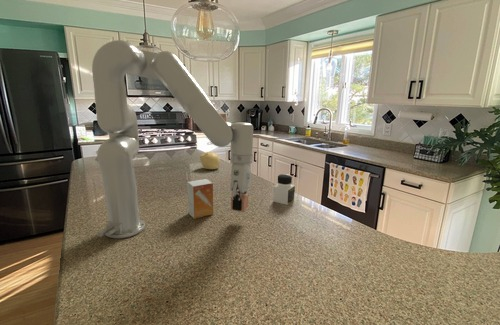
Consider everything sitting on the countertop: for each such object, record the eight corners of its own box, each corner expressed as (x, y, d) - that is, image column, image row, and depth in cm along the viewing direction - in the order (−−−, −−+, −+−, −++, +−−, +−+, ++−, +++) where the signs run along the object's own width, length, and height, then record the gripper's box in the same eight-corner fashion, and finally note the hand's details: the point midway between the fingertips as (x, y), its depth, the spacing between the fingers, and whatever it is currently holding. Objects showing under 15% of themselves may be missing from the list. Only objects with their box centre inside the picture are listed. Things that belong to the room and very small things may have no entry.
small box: (194, 219, 97) (192, 186, 94) (188, 213, 102) (186, 181, 99) (213, 214, 101) (213, 182, 98) (207, 208, 107) (206, 178, 103)
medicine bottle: (287, 205, 111) (289, 178, 108) (272, 201, 114) (273, 175, 112) (294, 200, 117) (295, 174, 114) (279, 196, 120) (281, 171, 117)
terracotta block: (243, 212, 92) (244, 198, 91) (230, 209, 93) (230, 196, 92) (247, 206, 97) (248, 194, 95) (235, 204, 98) (235, 192, 97)
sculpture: (212, 165, 174) (211, 149, 171) (223, 168, 166) (223, 152, 163) (197, 168, 166) (197, 151, 163) (209, 172, 158) (208, 154, 155)
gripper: (244, 165, 82) (242, 218, 86) (257, 154, 97) (255, 200, 102) (221, 162, 83) (221, 214, 88) (238, 152, 99) (237, 197, 104)
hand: (239, 206), depth 95 cm, fingers closed on terracotta block, 5 cm apart
